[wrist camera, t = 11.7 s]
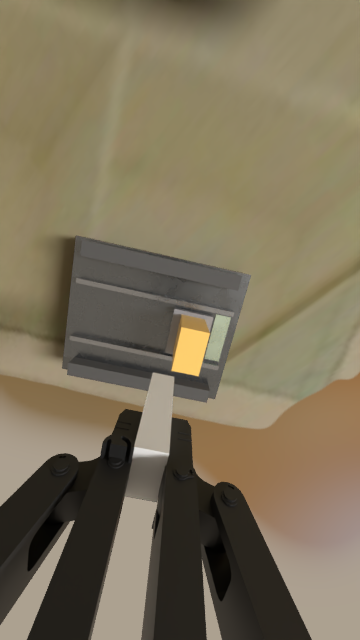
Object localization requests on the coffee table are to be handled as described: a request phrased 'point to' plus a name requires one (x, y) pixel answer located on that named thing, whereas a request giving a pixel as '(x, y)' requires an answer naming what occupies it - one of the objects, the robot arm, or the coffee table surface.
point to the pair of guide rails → (161, 266)
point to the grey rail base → (144, 315)
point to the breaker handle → (188, 340)
